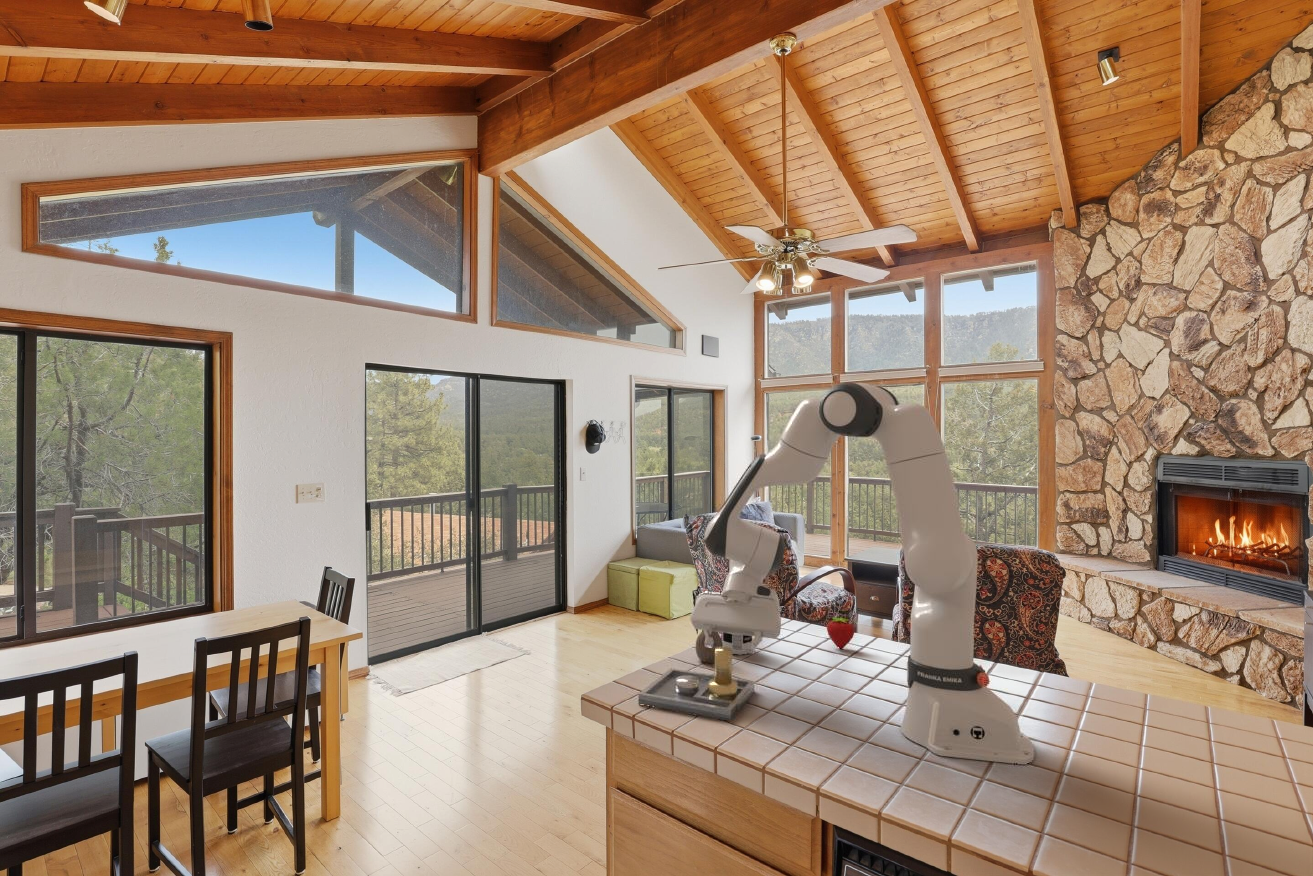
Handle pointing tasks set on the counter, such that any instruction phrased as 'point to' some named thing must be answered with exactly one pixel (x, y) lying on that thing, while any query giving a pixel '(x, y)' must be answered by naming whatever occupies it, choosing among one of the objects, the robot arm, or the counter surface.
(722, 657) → the gold peg with base
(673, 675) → the tray
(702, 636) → the vase
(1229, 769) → the counter surface
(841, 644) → the strawberry
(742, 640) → the supplement can
